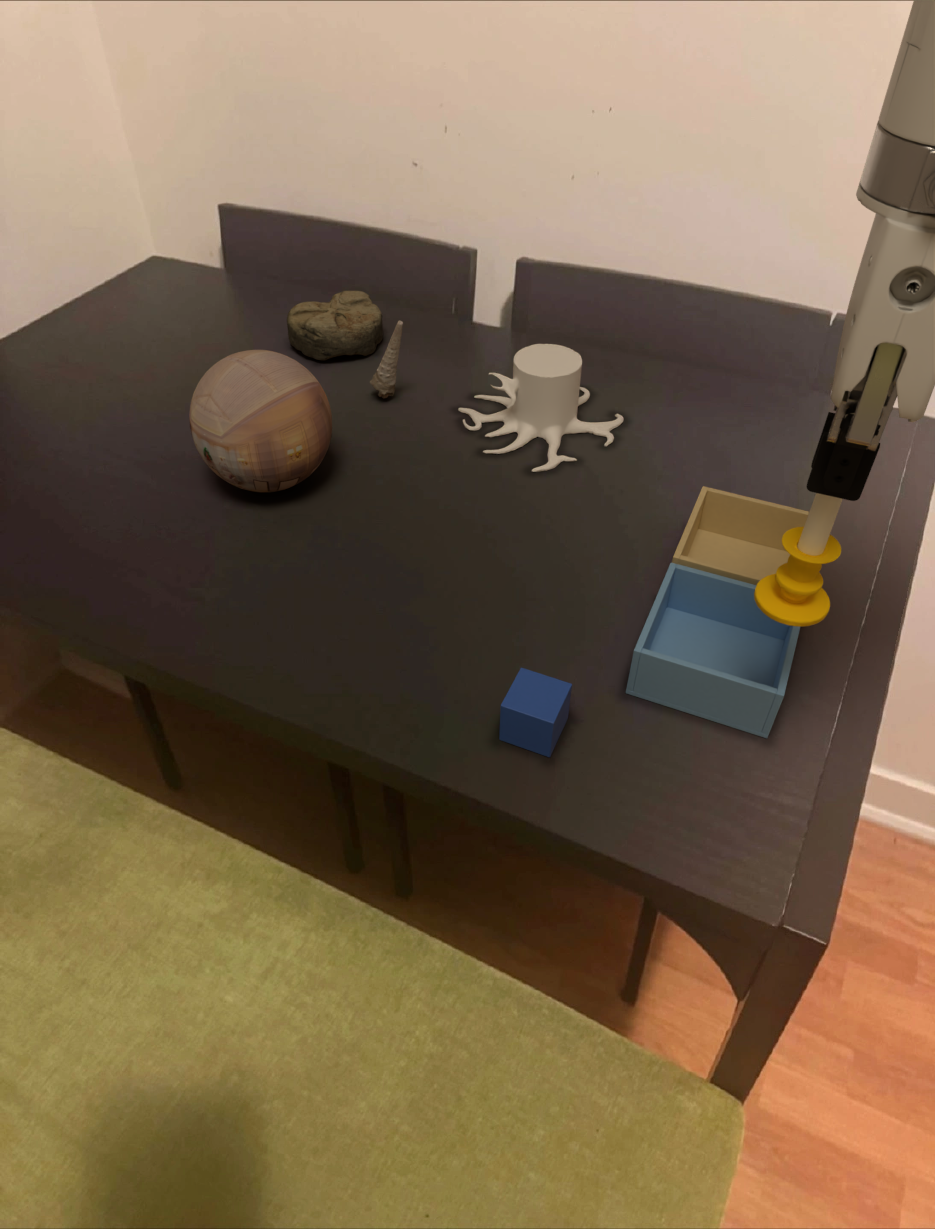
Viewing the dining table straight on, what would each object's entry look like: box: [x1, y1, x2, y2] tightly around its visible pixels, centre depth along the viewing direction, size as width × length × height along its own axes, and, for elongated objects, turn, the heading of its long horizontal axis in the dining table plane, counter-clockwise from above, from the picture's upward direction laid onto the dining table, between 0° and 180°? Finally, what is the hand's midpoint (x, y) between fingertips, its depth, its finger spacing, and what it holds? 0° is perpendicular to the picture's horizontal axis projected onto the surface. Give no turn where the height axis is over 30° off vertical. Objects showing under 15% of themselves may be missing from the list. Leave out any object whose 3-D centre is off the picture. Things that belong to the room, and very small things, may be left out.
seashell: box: [369, 320, 404, 399], centre depth 106 cm, size 3×5×11 cm, turn 70°
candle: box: [754, 413, 854, 628], centre depth 56 cm, size 5×5×16 cm
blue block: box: [498, 667, 573, 758], centre depth 70 cm, size 4×4×4 cm
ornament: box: [188, 349, 333, 493], centre depth 92 cm, size 15×15×15 cm
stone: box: [286, 290, 384, 361], centre depth 119 cm, size 13×13×5 cm
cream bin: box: [671, 485, 810, 585], centre depth 83 cm, size 12×12×6 cm
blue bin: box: [625, 562, 801, 739], centre depth 75 cm, size 12×12×6 cm
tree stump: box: [457, 343, 624, 473], centre depth 103 cm, size 20×19×8 cm
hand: (834, 481), depth 54 cm, fingers closed on candle
